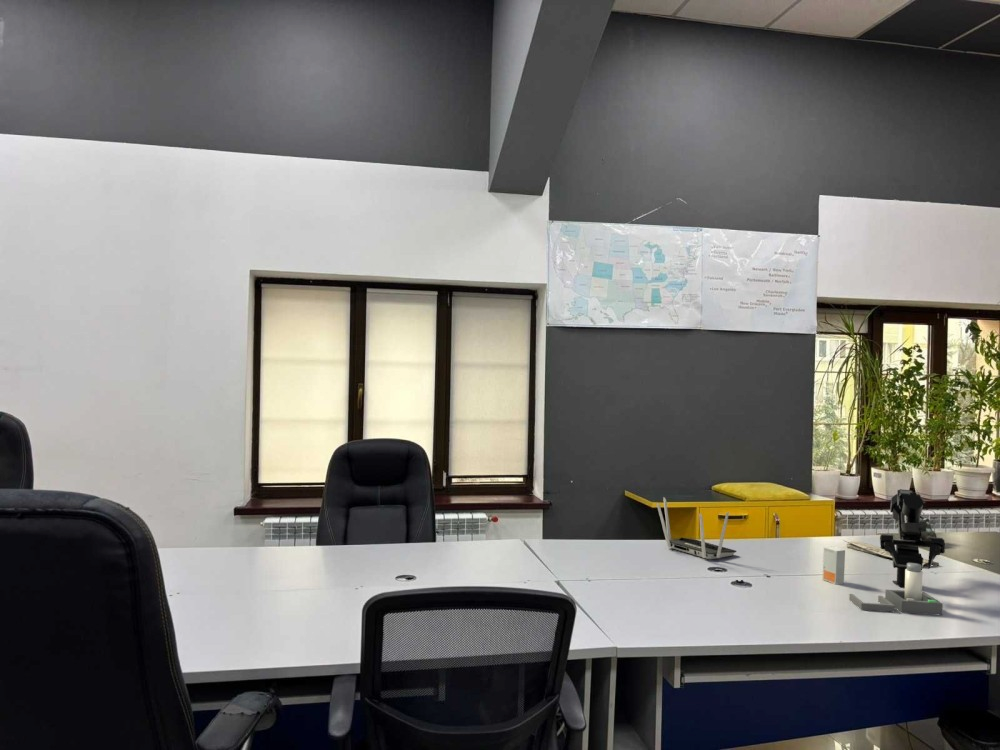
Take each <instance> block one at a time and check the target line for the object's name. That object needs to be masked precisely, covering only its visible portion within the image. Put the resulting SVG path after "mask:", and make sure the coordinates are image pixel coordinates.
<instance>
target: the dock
mask: <svg viewBox="0 0 1000 750" xmlns="http://www.w3.org/2000/svg"><path fill="white" fill-rule="evenodd" d="M884 591H885V592H884V593H885V597H884V598H885V599H887V600H888V601H889V602H891V603H892V604H893V605H895V609H896V608H897V609H898V610H897V609H896V610H897V611H899V612H900V611H901V612H900V613H903V612H907V613H906V614H918V613H920V615H921V614H922V615H933V614H939V615H938V616H942V615H943V602H941V601H939V600H938V599H936V598H934V596H932V595H930V594H928V593H927V592H925V591H922V601H916V600H914V599H910V598H906V600H904V598H905V590H901V589H900V590H899V589H885V590H884Z"/></svg>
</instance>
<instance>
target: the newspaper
mask: <svg viewBox="0 0 1000 750" xmlns="http://www.w3.org/2000/svg"><path fill="white" fill-rule="evenodd" d="M843 542H846V548H847V549H852V550H856V551H860V552H863V553H867V554H870V555H874V556H878V557H882V558H886V559H888V560H892V561H893V558H892V556H891V555H890V553H889V552H887V551H885V549H881V546H877V545H874V544H870V543H866V542H863V541H855V540H852V541H847V540H845V539H844V540H843ZM928 560H929V559H925V558H923V565H922V569H924V568H925V567H924V566H928ZM931 565H935V566H934V567H939V566H940V563H939V562H938V561H934V560H933V562H932V564H931ZM937 565H938V566H937Z"/></svg>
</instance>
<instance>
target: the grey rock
mask: <svg viewBox="0 0 1000 750" xmlns="http://www.w3.org/2000/svg"><path fill="white" fill-rule="evenodd" d="M920 522H926V532H921V536H922V538H921V541H930V537H936V538H938V536H937V534H936V532H935V531H934V530H933V528H932V525H931V521H930V519H929V518H928V517H926V518H923V516H922V515H920ZM895 527H896V529H897V532H898V533H899V531H898V522H896V523H895Z"/></svg>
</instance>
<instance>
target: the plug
mask: <svg viewBox="0 0 1000 750" xmlns="http://www.w3.org/2000/svg"><path fill="white" fill-rule="evenodd" d="M923 573H924V572H923V570H921V565H920V564H917V563H907V569H905V587H904V591H905V598H904V600H906V598H910V599H914V600H916V601H922V592H923Z"/></svg>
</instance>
